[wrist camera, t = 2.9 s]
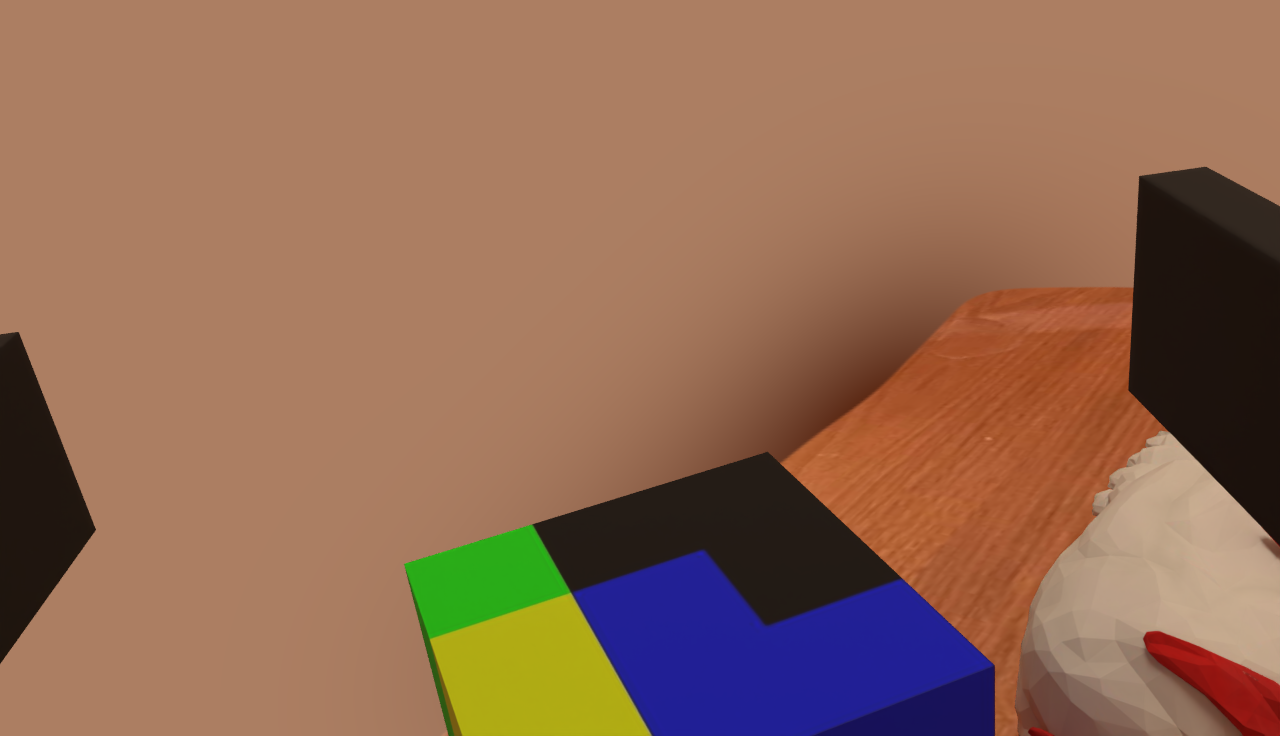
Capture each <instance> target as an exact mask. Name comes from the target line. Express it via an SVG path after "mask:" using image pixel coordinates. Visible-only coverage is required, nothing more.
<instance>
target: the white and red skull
mask: <svg viewBox="0 0 1280 736" xmlns="http://www.w3.org/2000/svg"><path fill="white" fill-rule="evenodd" d="M1146 447H1148V448H1144V449H1142V450H1141V452H1139V453H1136V454H1134V455H1132V456H1131V457H1130V458H1129V459H1128V463H1127V466H1126V468H1121V469H1118V470H1117V471H1116V472H1114V473H1113V474H1112V475H1110V482H1109V484H1108V487H1110V488H1111V489H1113V490H1110V489H1109V490H1106V491H1103V492H1100V493H1097V494H1096V495H1095V499H1094V503H1093V510H1092V513H1093V515H1095V516H1097V517H1096V518H1095V519H1094V520H1093V521H1092V522H1091V523H1090V524H1089V525H1088V526H1087V528H1086V529H1085V531H1084V532H1083V534H1082V535H1081V536H1080V537H1079V538H1078V539H1076V540H1075V541H1074V542H1073V543H1072V544H1071V545H1070V546H1069V547H1068V548H1067V549H1066V550H1065V551H1064V552H1063V553H1062V554H1061V555H1060V556H1059V558H1058V559H1057V560H1056V562H1055V563H1054V565H1053V566H1052V567H1051V569H1050V570H1049V572H1048V573H1047V574H1046V576H1045V577H1044V579H1043V580H1042V582H1041V584H1040V586H1039V588H1038V590H1037V593H1036V595H1035V597H1034V599H1033V601H1032V603H1031V605H1030V610H1029V618H1028V624H1027V628H1026V632H1025V635H1024V638H1023V641H1022V643H1021V655H1020V664H1019V673H1018V682H1017V691H1016V700H1015V709H1016V713H1017V716H1018V733H1019V736H1280V545H1279V544H1278V543H1277V542H1276V541H1275V540H1274V539H1273V538H1272V537H1271V536H1270V535H1269V534H1268V533H1267V532H1266V531H1265V530H1264V529H1263V528H1262V527H1261V526H1260V525H1259V524H1258V523H1257V522H1256V521H1255V520H1254V519H1253V518H1252V517H1251V516H1250V515H1249V514H1248V513H1247V512H1246V510H1245V509H1244V508H1243V507H1242V506H1241V505H1240V504H1239V503H1238V502H1237V501H1236V500H1235V499H1234V498H1233V497H1232V496H1231V495H1230V494H1229V493H1228V492H1227V491H1226V490H1225V489H1224V488H1223V487H1222V486H1221V485H1220V484H1219V483H1218V482H1217V481H1216V480H1215V479H1214V478H1213V477H1212V476H1211V475H1210V473H1209V472H1208V471H1207V470H1206V469H1205V468H1204V467H1203V466H1202V465H1201V464H1200V463H1199V462H1198V461H1197V460H1196V459H1195V458H1194V457H1193V456H1192V455H1191V454H1190V453H1189V452H1188V451H1187V450H1186V449H1185V448H1184V447H1183V446H1182V445H1181V444H1180V443H1179V442H1178V441H1177V440H1176V439H1175V437H1174V436H1173V435H1172V434H1171V433H1169V432H1164V431H1160V432H1159V433H1158V434H1157V436H1155V437H1153V438H1150V439H1147V441H1146Z"/></svg>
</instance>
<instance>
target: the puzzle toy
mask: <svg viewBox="0 0 1280 736" xmlns="http://www.w3.org/2000/svg"><path fill="white" fill-rule="evenodd" d="M404 565H405V569H406V573H407V577H408V581H409V584H410V588H411V592H412V596H413V600H414V604H415V608H416V611H417V615H418V619H419V623H420V627H421V631H422V635H423V638H424V642H425V646H426V650H427V654H428V658H429V662H430V666H431V669H432V673H433V677H434V681H435V685H436V689H437V693H438V696H439V700H440V704H441V708H442V712H443V716H444V719H445V723H446V727H447V731H448V735H449V736H995V665H994V664H993V663H992V662H990V661H989V660H988V659H987V658H986V657H985V656H984V655H983V654H982V653H981V652H980V651H979V650H978V649H977V648H976V647H975V646H973V645H972V644H971V643H970V642H969V641H968V640H967V639H966V638H965V637H964V636H963V635H962V634H961V633H960V632H959V631H958V630H956V629H955V628H954V627H953V626H952V625H951V624H950V623H949V622H948V621H947V620H946V619H945V618H944V617H943V616H942V615H941V614H939V613H938V612H937V611H936V610H935V609H934V608H933V607H932V606H931V605H930V604H929V603H928V602H927V601H926V600H925V599H923V598H922V597H921V596H920V595H919V594H918V593H917V592H916V591H915V590H914V589H913V588H912V587H911V586H910V585H909V584H908V583H906V582H905V581H904V580H903V579H902V578H901V577H900V576H899V575H898V574H897V573H896V572H895V571H894V570H893V569H892V568H891V567H889V566H888V565H887V564H886V563H885V562H884V561H883V560H882V559H881V558H880V557H879V556H878V555H877V554H876V553H875V552H874V551H872V550H871V549H870V548H869V547H868V546H867V545H866V544H865V543H864V542H863V541H862V540H861V539H860V538H859V537H858V536H857V535H855V534H854V533H853V532H852V531H851V530H850V529H849V528H848V527H847V526H846V525H845V524H844V523H843V522H842V521H841V520H840V519H838V518H837V517H836V516H835V515H834V514H833V513H832V512H831V511H830V510H829V509H828V508H827V507H826V506H825V505H824V504H823V503H821V502H820V501H819V500H818V499H817V498H816V497H815V496H814V495H813V494H812V493H811V492H810V491H809V490H808V489H807V488H806V487H804V486H803V485H802V484H801V483H800V482H799V481H798V480H797V479H796V478H795V477H794V476H793V475H792V474H791V473H790V472H789V471H787V470H786V469H785V468H784V467H783V466H782V465H781V464H780V463H779V462H778V461H777V460H776V459H775V458H773V456H772V455H770V454H769V453H768V452H766V453H763V454H759V455H756V456H753V457H750V458H747V459H743V460H740V461H737V462H734V463H730V464H727V465H724V466H720V467H717V468H714V469H711V470H707V471H705V472H701V473H698V474H694V475H691V476H688V477H685V478H682V479H679V480H675V481H672V482H669V483H665V484H662V485H659V486H656V487H652V488H649V489H646V490H643V491H639V492H636V493H633V494H630V495H627V496H623V497H620V498H617V499H614V500H610V501H607V502H604V503H600V504H597V505H594V506H591V507H587V508H584V509H581V510H578V511H574V512H571V513H568V514H565V515H562V516H558V517H555V518H552V519H548V520H545V521H542V522H539V523H535V524H532V525H529V526H526V527H523V528H520V529H516V530H513V531H510V532H506V533H503V534H500V535H497V536H493V537H490V538H487V539H484V540H480V541H477V542H474V543H471V544H467V545H464V546H461V547H458V548H455V549H451V550H448V551H445V552H442V553H438V554H435V555H432V556H428V557H426V558H422V559H419V560H416V561H412V562H409V563H406V564H404Z"/></svg>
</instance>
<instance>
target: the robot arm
mask: <svg viewBox="0 0 1280 736" xmlns="http://www.w3.org/2000/svg"><path fill="white" fill-rule="evenodd" d="M1137 213H1138V214H1137V232H1136V253H1135V272H1134V291H1133V310H1132V330H1131V350H1130V370H1129V389H1128V390H1129V391H1130V392H1131V393H1132V394H1133V395H1134V396H1135V397H1136V398H1137V399H1138V400H1139V402H1140V403H1141V404H1142V405H1143V406H1144V407H1145V408H1146V409H1147V410H1148V411H1149V412H1150V413H1151V414H1152V415H1153V416H1154V417H1155V418H1156V419H1157V420H1158V421H1159V422H1160V423H1161V424H1162V425H1163V426H1164V427H1165V428H1166V429H1167V430H1168V431H1169V432H1170V433H1171V434H1172V435H1173V436H1174V437H1175V439H1176V440H1177V441H1178V442H1179V443H1180V444H1181V445H1182V446H1183V447H1184V448H1185V449H1186V450H1187V451H1188V452H1189V453H1190V454H1191V455H1192V456H1193V457H1194V458H1195V459H1196V460H1197V461H1198V462H1199V463H1200V464H1201V465H1202V466H1203V467H1204V468H1205V469H1206V470H1207V471H1208V472H1209V473H1210V475H1211V476H1212V477H1213V478H1214V479H1215V480H1216V481H1217V482H1218V483H1219V484H1220V485H1221V486H1222V487H1223V488H1224V489H1225V490H1226V491H1227V492H1228V493H1229V494H1230V495H1231V496H1232V497H1233V498H1234V499H1235V500H1236V501H1237V502H1238V503H1239V504H1240V505H1241V506H1242V507H1243V508H1244V509H1245V510H1246V512H1247V513H1248V514H1249V515H1250V516H1251V517H1252V518H1253V519H1254V520H1255V521H1256V522H1257V523H1258V524H1259V525H1260V526H1261V527H1262V528H1263V529H1264V530H1265V531H1266V532H1267V533H1268V534H1269V535H1270V536H1271V537H1272V538H1273V539H1274V540H1275V541H1276V542H1277V543H1278V544H1279V545H1280V206H1278V205H1276V204H1275V203H1273V202H1271V201H1269V200H1267V199H1265V198H1263V197H1262V196H1260V195H1257V194H1256V193H1254V192H1252V191H1250V190H1248V189H1246V188H1245V187H1243V186H1241V185H1239V184H1237V183H1235V182H1234V181H1232V180H1230V179H1228V178H1226V177H1224V176H1222V175H1220V174H1219V173H1217V172H1215V171H1213V170H1211V169H1209V168H1207V167H1201V168H1195V169H1187V170H1180V171H1172V172H1165V173H1158V174H1152V175H1144V176H1139V193H1138V212H1137ZM95 530H96V529H95V526H94V524H93V521H92V519H91V516H90V513H89V511H88V508H87V506H86V503H85V501H84V499H83V496H82V493H81V490H80V488H79V485H78V483H77V480H76V478H75V475H74V473H73V470H72V467H71V465H70V462H69V460H68V457H67V455H66V452H65V450H64V447H63V444H62V442H61V439H60V437H59V434H58V432H57V429H56V426H55V424H54V421H53V419H52V416H51V414H50V411H49V409H48V406H47V404H46V401H45V398H44V396H43V393H42V391H41V388H40V386H39V383H38V380H37V378H36V375H35V373H34V370H33V368H32V365H31V362H30V360H29V358H28V355H27V352H26V350H25V347H24V345H23V342H22V340H21V337H20V334H19V332H15V333H8V334H1V335H0V663H1V662H2V661H3V659H4V658H5V656H6V655H7V654H8V652H9V651H10V649H11V648H12V647H13V645H14V644H15V642H16V641H17V639H18V638H19V637H20V635H21V634H22V633H23V631H24V630H25V628H26V627H27V626H28V624H29V623H30V621H31V620H32V619H33V617H34V616H35V614H36V613H37V612H38V610H39V609H40V607H41V606H42V604H43V603H44V602H45V600H46V599H47V597H48V596H49V595H50V593H51V592H52V590H53V589H54V588H55V586H56V585H57V584H58V582H59V581H60V579H61V578H62V577H63V575H64V574H65V572H66V571H67V570H68V568H69V567H70V565H71V564H72V563H73V561H74V560H75V558H76V557H77V555H78V554H79V553H80V552H81V550H82V549H83V547H84V546H85V544H86V543H87V542H88V540H89V539H90V537H91V536H92V535H93V533H94V532H95Z"/></svg>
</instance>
